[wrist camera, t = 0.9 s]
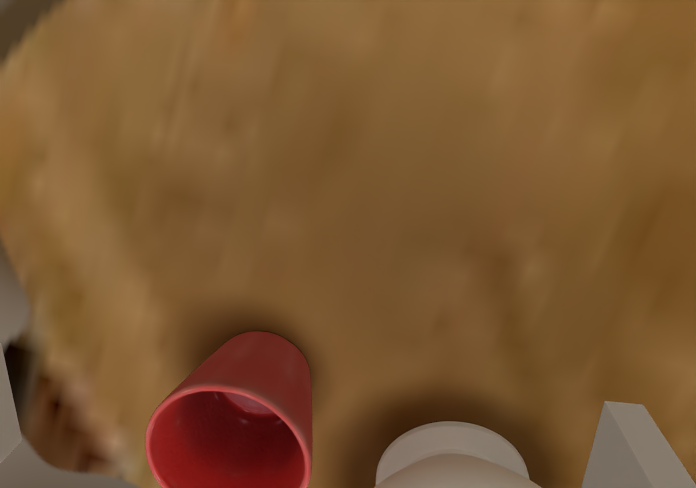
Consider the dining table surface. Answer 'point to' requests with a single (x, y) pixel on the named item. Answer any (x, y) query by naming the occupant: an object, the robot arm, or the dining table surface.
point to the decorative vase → (452, 459)
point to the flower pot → (237, 420)
